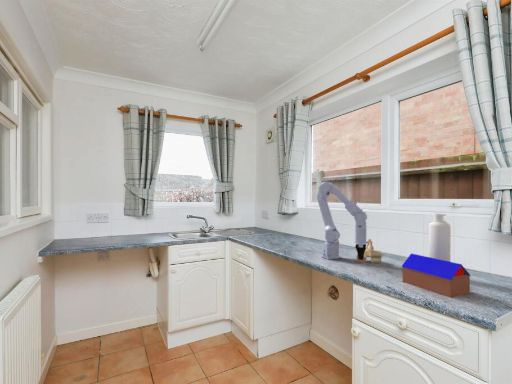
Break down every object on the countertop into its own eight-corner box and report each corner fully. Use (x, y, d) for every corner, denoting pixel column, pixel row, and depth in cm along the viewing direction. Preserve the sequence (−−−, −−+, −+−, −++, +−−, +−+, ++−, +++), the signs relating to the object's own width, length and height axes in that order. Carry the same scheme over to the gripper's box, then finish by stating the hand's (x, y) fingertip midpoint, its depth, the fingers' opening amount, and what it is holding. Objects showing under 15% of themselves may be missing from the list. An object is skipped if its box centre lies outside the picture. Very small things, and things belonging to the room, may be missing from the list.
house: (450, 298, 99) (450, 265, 99) (401, 282, 117) (401, 254, 117) (471, 294, 104) (471, 262, 104) (420, 279, 122) (420, 252, 122)
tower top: (381, 258, 148) (381, 252, 148) (371, 257, 149) (371, 252, 149) (380, 256, 152) (380, 250, 152) (370, 255, 154) (370, 250, 154)
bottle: (443, 280, 120) (443, 215, 120) (425, 275, 127) (425, 213, 127) (454, 277, 123) (454, 214, 124) (435, 273, 131) (435, 213, 131)
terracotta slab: (366, 262, 150) (366, 256, 150) (356, 261, 152) (356, 256, 152) (366, 260, 155) (366, 254, 155) (356, 259, 157) (356, 254, 157)
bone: (383, 251, 172) (377, 255, 160) (371, 260, 177) (364, 264, 165) (371, 237, 177) (364, 240, 165) (360, 246, 181) (352, 250, 169)
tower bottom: (381, 264, 148) (381, 258, 148) (371, 263, 149) (371, 257, 149) (380, 261, 152) (380, 256, 152) (370, 261, 154) (370, 255, 154)
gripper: (368, 235, 145) (368, 261, 145) (368, 232, 159) (368, 256, 159) (354, 235, 148) (354, 260, 148) (355, 231, 162) (355, 255, 161)
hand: (360, 258), depth 154 cm, fingers closed on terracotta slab, 5 cm apart
